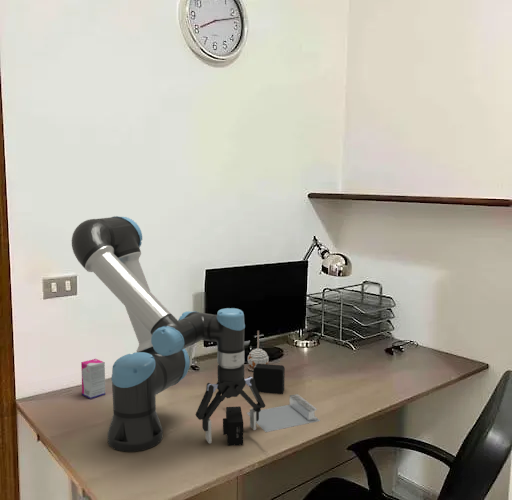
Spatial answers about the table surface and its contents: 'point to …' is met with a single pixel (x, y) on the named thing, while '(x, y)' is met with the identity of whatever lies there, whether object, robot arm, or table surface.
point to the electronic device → (269, 378)
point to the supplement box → (93, 378)
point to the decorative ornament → (257, 356)
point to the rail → (303, 407)
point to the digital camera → (233, 426)
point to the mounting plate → (280, 418)
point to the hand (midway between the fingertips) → (231, 436)
